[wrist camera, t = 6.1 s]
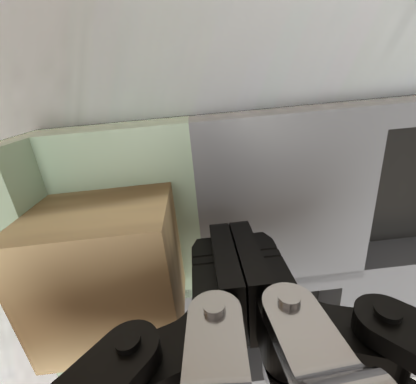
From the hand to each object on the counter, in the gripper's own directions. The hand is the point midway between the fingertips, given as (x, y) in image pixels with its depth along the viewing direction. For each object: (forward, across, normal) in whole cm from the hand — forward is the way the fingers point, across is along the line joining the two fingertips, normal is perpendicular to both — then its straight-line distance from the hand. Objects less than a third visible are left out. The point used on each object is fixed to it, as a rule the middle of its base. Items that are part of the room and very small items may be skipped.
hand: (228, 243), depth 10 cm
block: (+2, +4, 0) cm, 5 cm away
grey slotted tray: (+4, -3, +4) cm, 6 cm away
